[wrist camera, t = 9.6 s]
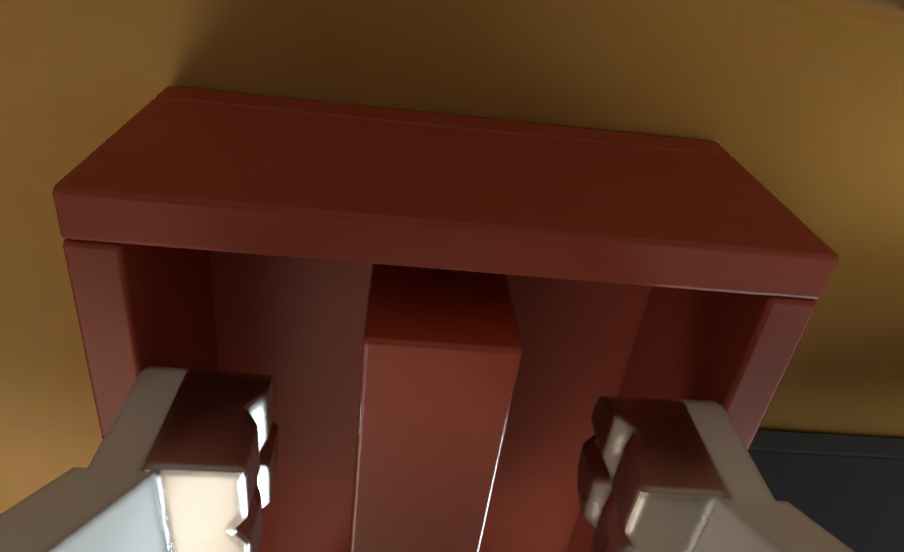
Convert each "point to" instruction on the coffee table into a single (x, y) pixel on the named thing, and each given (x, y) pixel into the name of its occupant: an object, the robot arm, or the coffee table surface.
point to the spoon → (431, 407)
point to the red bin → (439, 247)
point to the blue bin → (838, 483)
